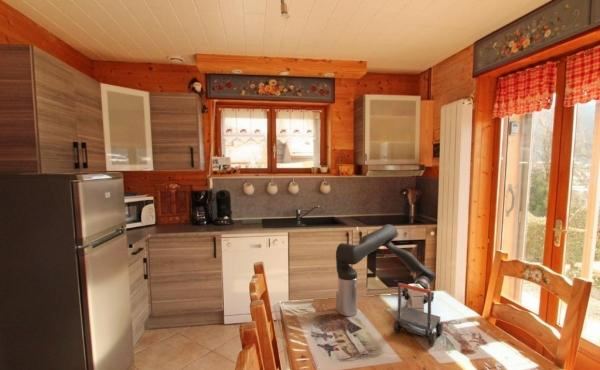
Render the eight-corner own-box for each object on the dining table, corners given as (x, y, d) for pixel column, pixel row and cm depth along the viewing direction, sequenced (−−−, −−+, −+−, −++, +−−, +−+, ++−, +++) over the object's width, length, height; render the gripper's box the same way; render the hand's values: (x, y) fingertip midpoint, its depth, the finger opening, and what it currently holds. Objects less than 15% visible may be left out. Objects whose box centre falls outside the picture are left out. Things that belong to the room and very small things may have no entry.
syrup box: (424, 319, 137) (424, 288, 136) (411, 319, 137) (412, 288, 136) (419, 313, 142) (420, 283, 142) (407, 313, 142) (407, 283, 142)
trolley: (393, 333, 124) (393, 283, 123) (407, 320, 136) (407, 274, 135) (431, 347, 114) (432, 293, 113) (443, 331, 126) (443, 282, 125)
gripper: (406, 278, 155) (399, 289, 141) (436, 283, 148) (432, 295, 134) (406, 292, 155) (399, 304, 141) (436, 298, 148) (431, 311, 134)
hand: (415, 299), depth 137 cm, fingers closed on syrup box, 7 cm apart
